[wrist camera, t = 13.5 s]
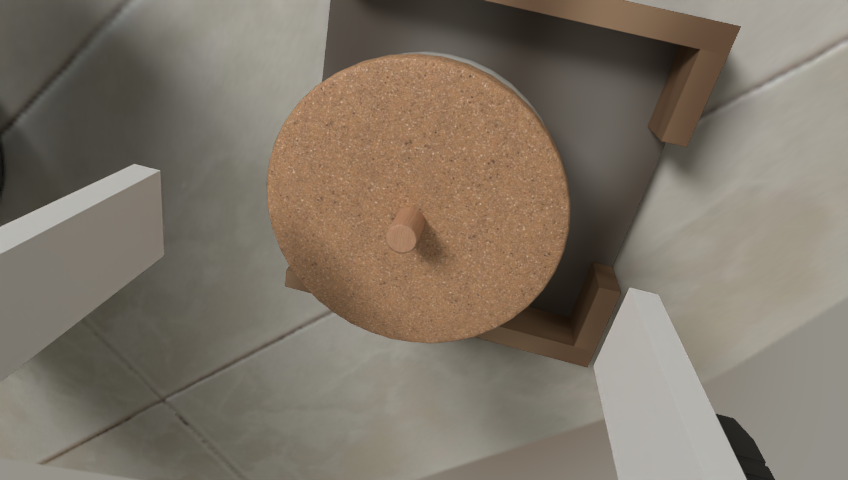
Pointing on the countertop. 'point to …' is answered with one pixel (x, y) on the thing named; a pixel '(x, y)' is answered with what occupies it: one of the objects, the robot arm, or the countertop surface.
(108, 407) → the countertop surface
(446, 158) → the lidded jar
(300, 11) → the countertop surface
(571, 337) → the holder
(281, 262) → the countertop surface
